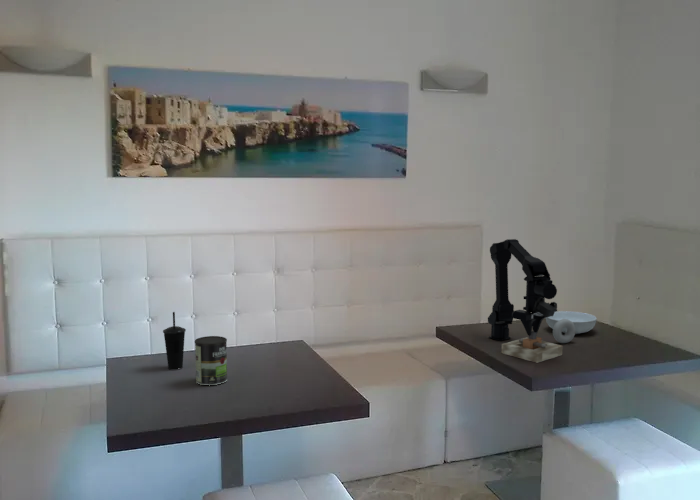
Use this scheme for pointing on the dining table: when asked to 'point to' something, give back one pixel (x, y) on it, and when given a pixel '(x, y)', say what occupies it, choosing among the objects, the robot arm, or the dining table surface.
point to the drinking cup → (174, 345)
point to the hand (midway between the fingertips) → (532, 334)
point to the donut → (558, 330)
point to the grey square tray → (532, 350)
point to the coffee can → (211, 360)
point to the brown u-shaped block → (531, 341)
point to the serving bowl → (573, 320)
